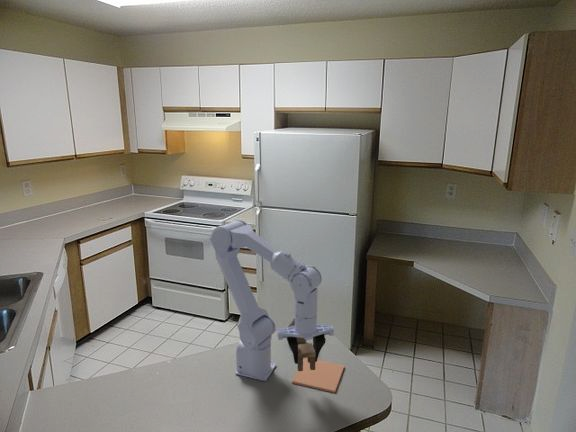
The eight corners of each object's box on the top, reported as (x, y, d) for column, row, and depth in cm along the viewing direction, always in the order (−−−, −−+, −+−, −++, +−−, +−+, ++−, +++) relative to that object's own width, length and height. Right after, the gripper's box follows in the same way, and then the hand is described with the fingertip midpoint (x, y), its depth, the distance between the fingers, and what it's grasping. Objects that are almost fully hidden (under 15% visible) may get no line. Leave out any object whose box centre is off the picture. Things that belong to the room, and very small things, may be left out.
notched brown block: (298, 371, 103) (298, 354, 102) (295, 361, 108) (295, 344, 106) (315, 369, 104) (315, 352, 103) (311, 359, 108) (312, 343, 107)
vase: (306, 338, 132) (307, 314, 130) (308, 350, 125) (308, 324, 123) (285, 338, 132) (285, 314, 130) (286, 350, 125) (286, 325, 123)
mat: (292, 383, 110) (292, 381, 109) (305, 359, 121) (305, 357, 120) (334, 392, 106) (335, 390, 106) (344, 367, 117) (344, 365, 117)
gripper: (280, 323, 97) (280, 372, 101) (337, 319, 100) (335, 367, 103) (276, 310, 104) (276, 356, 107) (330, 306, 106) (328, 351, 110)
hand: (305, 360), depth 106 cm, fingers closed on notched brown block, 4 cm apart
